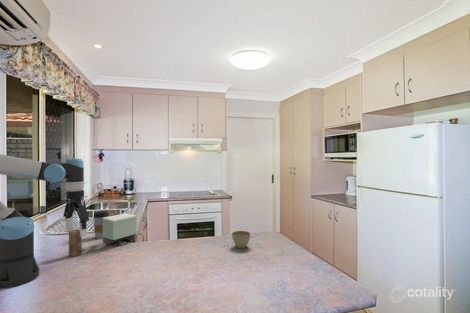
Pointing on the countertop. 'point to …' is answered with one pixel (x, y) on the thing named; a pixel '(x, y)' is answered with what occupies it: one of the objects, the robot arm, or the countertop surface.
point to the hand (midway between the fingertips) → (76, 233)
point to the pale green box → (119, 228)
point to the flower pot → (241, 238)
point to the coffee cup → (99, 223)
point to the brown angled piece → (80, 244)
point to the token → (122, 242)
